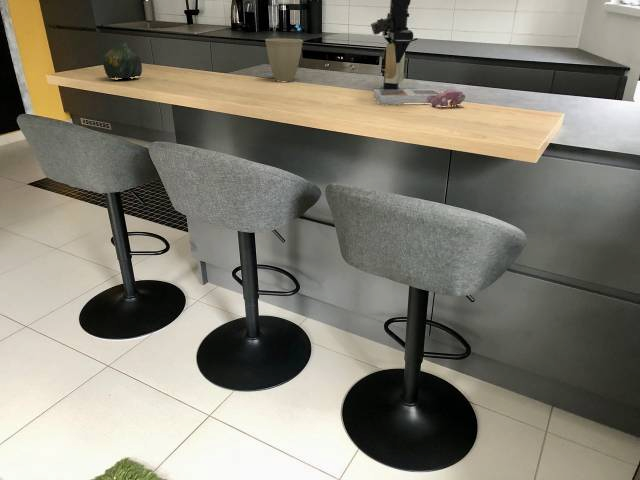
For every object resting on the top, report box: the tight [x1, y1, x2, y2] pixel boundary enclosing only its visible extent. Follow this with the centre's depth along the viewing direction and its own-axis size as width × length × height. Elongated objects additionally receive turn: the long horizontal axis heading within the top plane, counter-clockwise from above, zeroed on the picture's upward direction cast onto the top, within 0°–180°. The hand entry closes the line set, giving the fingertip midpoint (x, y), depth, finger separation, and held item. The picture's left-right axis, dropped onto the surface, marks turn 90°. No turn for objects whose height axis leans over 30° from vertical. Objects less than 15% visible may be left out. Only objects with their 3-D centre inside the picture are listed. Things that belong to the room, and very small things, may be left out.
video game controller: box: [431, 89, 466, 107], centre depth 166 cm, size 10×5×7 cm, turn 106°
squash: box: [102, 41, 143, 79], centre depth 206 cm, size 14×15×15 cm
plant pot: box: [264, 38, 304, 82], centre depth 208 cm, size 15×15×16 cm
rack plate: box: [373, 88, 441, 105], centre depth 174 cm, size 12×22×3 cm, turn 95°
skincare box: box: [384, 43, 406, 84], centre depth 169 cm, size 6×4×12 cm
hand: (395, 61), depth 169 cm, fingers closed on skincare box, 7 cm apart
